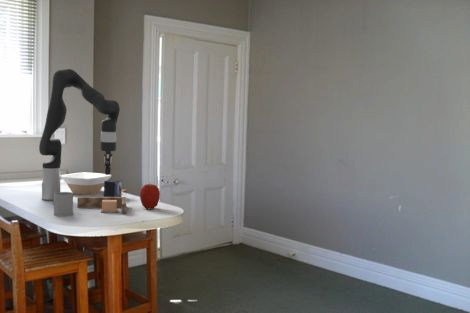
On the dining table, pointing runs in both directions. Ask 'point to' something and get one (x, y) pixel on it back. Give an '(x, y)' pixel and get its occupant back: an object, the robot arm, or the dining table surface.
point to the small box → (112, 188)
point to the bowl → (85, 182)
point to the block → (109, 205)
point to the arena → (100, 202)
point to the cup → (63, 203)
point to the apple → (149, 196)
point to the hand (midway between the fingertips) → (107, 173)
